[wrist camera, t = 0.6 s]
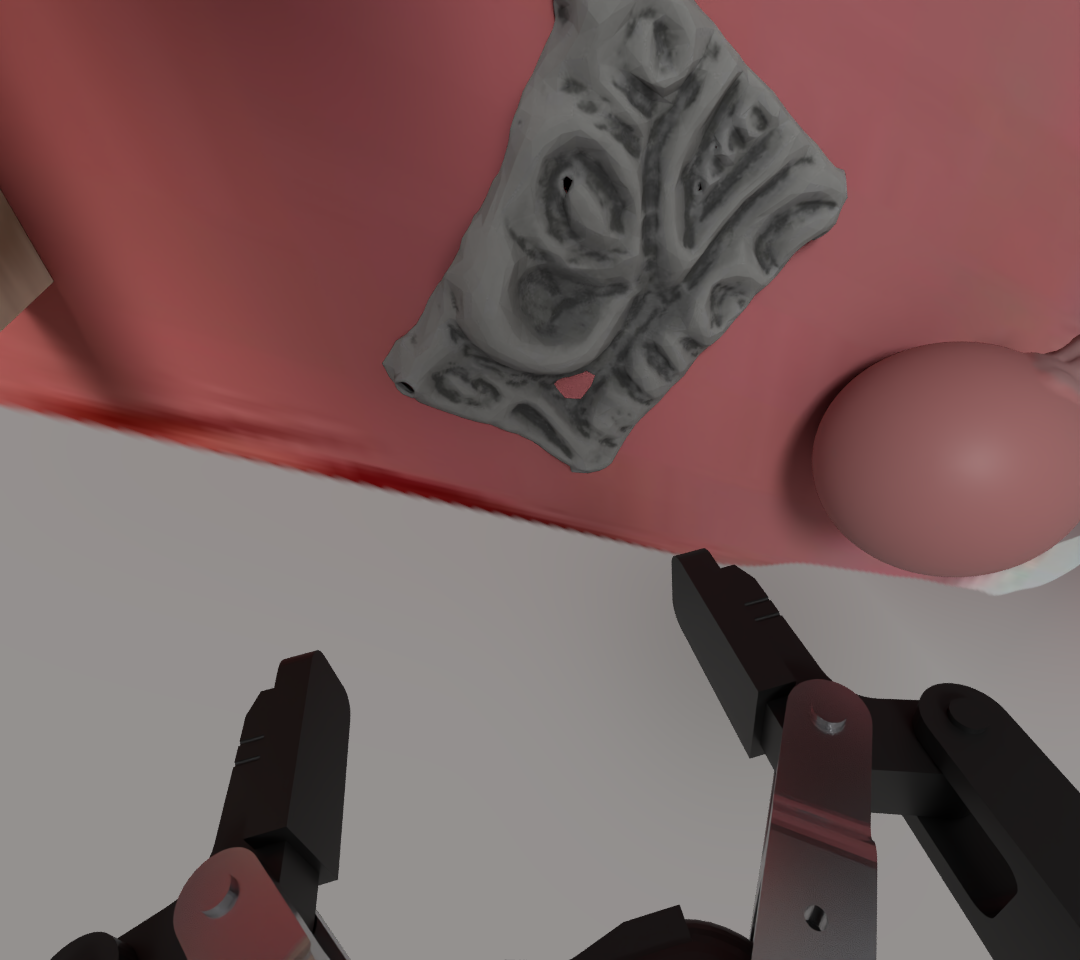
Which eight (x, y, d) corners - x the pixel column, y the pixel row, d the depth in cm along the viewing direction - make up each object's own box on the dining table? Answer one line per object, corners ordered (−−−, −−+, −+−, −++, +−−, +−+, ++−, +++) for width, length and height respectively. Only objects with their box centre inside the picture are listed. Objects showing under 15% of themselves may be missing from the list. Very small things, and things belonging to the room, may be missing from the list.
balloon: (1045, 326, 43) (1290, 446, 31) (827, 500, 50) (961, 647, 39) (983, 193, 34) (1290, 293, 23) (733, 427, 42) (869, 588, 31)
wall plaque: (593, -110, 22) (627, -126, 19) (842, 177, 32) (889, 196, 29) (344, 365, 32) (343, 402, 29) (591, 472, 42) (608, 507, 39)
